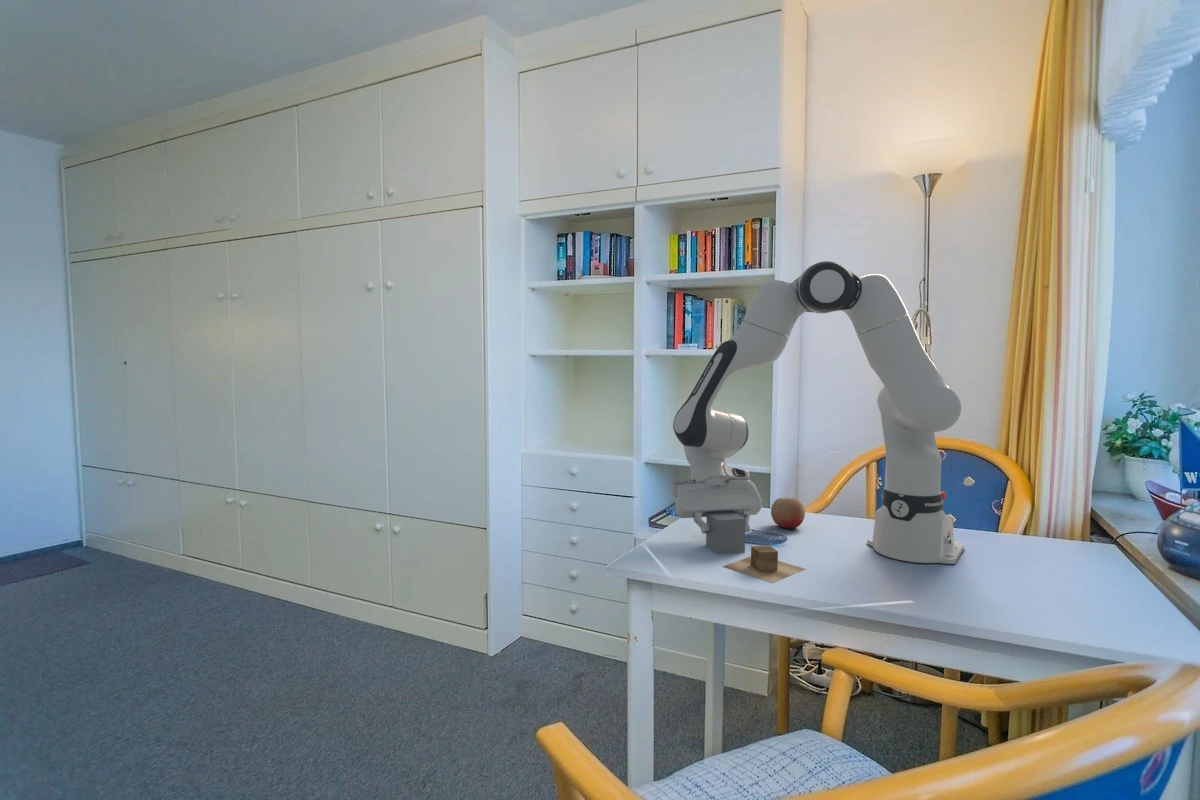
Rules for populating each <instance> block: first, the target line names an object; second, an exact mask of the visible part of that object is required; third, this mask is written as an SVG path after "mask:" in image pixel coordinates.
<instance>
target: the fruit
mask: <svg viewBox="0 0 1200 800" xmlns="http://www.w3.org/2000/svg"><path fill="white" fill-rule="evenodd" d="M770 509H771V510H770V515H771V518H772V520H773V522H774V524H775V525H776V526H780V527H782V528H783V529H787V530H792V529H793V530H794V529H796V528H798V527H799V526H801V524H803V521H804V520H805V515H806V511H805V507H804V505H803V503H802V501H801V500H800V499H798V498H797V497H780V498H777V499H775V500H774V501H773V503H772V505H771V508H770Z"/></svg>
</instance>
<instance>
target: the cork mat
mask: <svg viewBox="0 0 1200 800" xmlns="http://www.w3.org/2000/svg"><path fill="white" fill-rule="evenodd" d="M722 568H725V569H728V570H731V571H734V572H736V573H740V574H743V575H746V576H750V577H752V578H755V579H758V580H761V581H764V582H767V583H771V584H774V583H776V582H779V581H781V580H784V579H786V578H788V577H791V576H793V575H795V574H797V573H800V572H803V571H806V568H803V567H800V566H797V565H794V564H791V563H787V562H783V561H780V560H778V568H777V571H763V572H759V571H758V570H756V569H755V568H754V567H753V566H751V555H750V556H748V557H745V558H743V559H740V560H737V561H734V562H732V563H728V564H726V565H723V566H722Z"/></svg>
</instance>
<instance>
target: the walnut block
mask: <svg viewBox="0 0 1200 800" xmlns="http://www.w3.org/2000/svg"><path fill="white" fill-rule="evenodd" d="M750 556H751V566H753V567H754V568H755V569H756V570H758V571H759V572H763V571H777V568H778V561H779V551H778V550H777V549H775V548H774V547H772V546H770V545H769V544H767V545H752V546H751V547H750Z"/></svg>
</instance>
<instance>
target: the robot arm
mask: <svg viewBox="0 0 1200 800" xmlns="http://www.w3.org/2000/svg"><path fill="white" fill-rule="evenodd" d="M838 311H842V312H844V314H846V315H847V316H848V318H849V319H850V321H851V323H852V326H853V328H854V331H855V333H856V336H857V338H858V341H859V343H860V346H861V348H862V350H863V353H864V354H865V357H866V359H867V362H868V364H869V366H870V367H871V369H872V370H873V371H874V372H875V374H876V375H877V377H879V379H880V381H881V383H882V384H883V387H882V388H881V389H880V390H879V393H878V396H877V399H876V400H877V402H876V403H877V406H878V407H877V408H878V410H879V412H880V417H881V425H882V428H881V429H882V433H883V439H884V440H883V442H884V447H885V468H884V469H885V472H884V473H885V474H884V487H882V493H881V504H882V506H881V507H880V508H878V509H877V510H876V512H875V517H874V525H873V533H872V537H871V538H870V537H869V538H867V541H866V544H867V545H868V546H871V547H872V548H873V549H874V551H875V552H877V553H878V554H880V555H882V556H885V557H888V558H891V559H895V560H899V561H904V562H909V563H920V564H938V563H939V564H947V565H948V564H949V565H953V564H956V563H957V561H958V559H959V557H961V554H962V553H963V551H964V549H965V544H964V543H962V542H960V541H959V540H954V523H953V522H952V520H951V519H950V518H949V517H948V516H947V513H946V512H944V511H943V509H944V502H945V501H946V498H947V492H946V491H941V484H942V483H941V482H942V479H941V478H942V462H943V461H942V455H941V453H940V451H939V448H938V445H937V441H936V436H935V433H937V432H943V431H946V430H948V429H950V428H952V427H953V426H955V424H956V423H957V422H958V420H959V418H960V417H961V412H962V405H961V400H960V398H959V396H958V395H957V393H956V392H955V391H953V389H951V388H950V386H949V385H948V384H947V383H946V381H945V379H944V378H943V376H942V374H941V373H940V371H939V370H938V368H937V367H936V365H935V364H934V362H933V361H932V359H931V358H930V357H929V355H928V353H927V351H926V349H925V348H924V346H923V345H922V342H921V340H920V338H919V336H918V334H917V331H916V329H915V327H914V324H913V321H912V320H911V317H910V315H909V313H908V310H907V308H906V305H905V304H904V302H903V300H902V298H901V296H900V295H899V293H898V291H897V290H896V288H895V286H894V285H893V284H892V282H891V281H890V279H889V278H888V277H887V276H885V275H883V274H879V273H877V274H876V273H872V274H871V273H870V274H867V275H864V276H863V275H862V276H861V277H859V276H857V275H856V274H855V273H853V272H852V271H851V270H849V269H848V268H847V267H845V266H844V265H842V264H840V263H839V262H838V263H837V262H834V261H829V260H827V261H825V260H824V261H819V262H817V263H814V264H812V265H810V266H808V267H807V268H805V270H804V271H802V273H801V274H800V275H799V276H798V277H797V278H796V279H795V280H793V281H792V282H787V281H783V280H776V279H775V280H767V281H766V282H764V283H763V284H761V286H760V287H759V289H758V290H757V292H756V293H755V296H754V297H753V299H752V300H751V302H750V304H749V306H748V308H747V310H746V312H745V315H744V317H743V319H742V322H741V324H740V325H739V328H738V329H737V330H736V332H735V333H734V334H733V335H732V336H731V338H729V339H728V340H726V341H723V342H722V343H720V344H719V346H718V347H717V348H716V349H715V351H714V353H713V354H712V356H711V358H710V360H709V361H708V363H707V364H706V366H705V368H704V369H703V371H702V373H701V376H700V377H699V378H698V381H697V382H696V384H695V386H694V387H693V389H692V391H691V392H690V395H689V396H688V398H687V399H686V400H685V402H684V403H683V404H682V406H681V407H680V408H679V409H678V411H677V412H676V414H675V416H674V419H673V424H672V427H673V431H674V435H675V437H676V438H677V439H678V441H679V442H680V443H681V444H682V445H683V449H684V450H683V451H684V454H685V459H686V460H687V462H688V464H689V472H690V478H691V479H685V480H680V479H679V480H675V482H673V483H672V484H671V486H670V488H671V492H672V495H673V496H674V503H675V504H674V505H675V506H674V507H675V512H676V515H677V516H678V517H679V518H680V519H693V522H694V523H695V524H696V525H697V526H698V528H700V530H701V533H702V535H704V534H705V535H706V533H709V532H710V527H709V523H706V522H705V521H704V520H703V518H707V512H726V511H734V512H736V513H737V514H739V515H741V516H742V517H744V518H745V519H746V526H745V532H749V531H750V528H751V527H750V523H749V521H750V517H751V516H755V515H758V513H760V511H761V509H762V507H763V501H762V500H763V499H762V498H761V496H760V492H759V490H758V488H757V487H756V485H755V484H754V482H752V480H750V476H751V475H750V472H749V471H748V470H746V469H743V468H738V467H734V466H731V465H728V464H727V463H726V461H725V460H726V459H727V458H731V457H732V456H733V455H735V454H736V453H738V452H739V451H740V450H741V449H743V448H744V446H745V445H746V444H747V441H748V439H749V426H748V423H747V421H746V419H745V417H743V415H741V414H738V413H734V412H732V411H727V410H721V409H718V408H712V406H713V404H714V403H715V400H716V398H717V397H718V395H719V394H720V392H721V390H722V388H723V386H724V384H725V383H726V381H727V380H728V379H729V377H731V376H732V375H734V374H735V373H737V372H740V371H742V370H749V369H754V368H755V369H756V368H761V367H765V366H767V365H770V364H772V363H773V362H775V361H776V360H778V359H779V358H780V356H781V355H782V354H783V352H784V350H785V348H786V346H787V343H788V341H789V338H790V336H791V333H792V331H793V328H794V326H795V324H796V322H797V320H798V319H799V318H800V316H802V314H804V313H815V314H829V313H832V312H838ZM961 552H962V553H961Z"/></svg>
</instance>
